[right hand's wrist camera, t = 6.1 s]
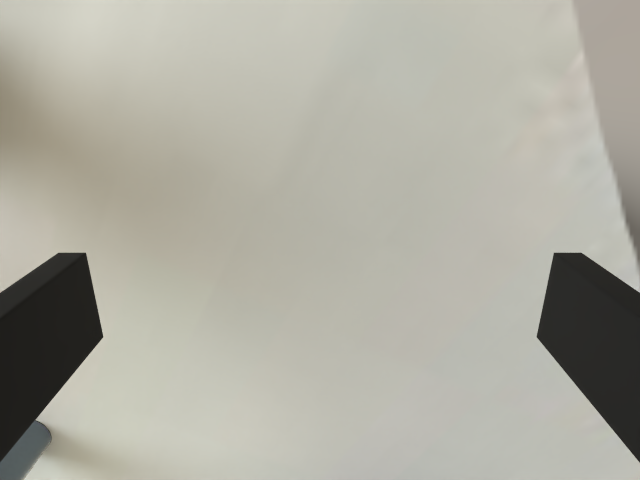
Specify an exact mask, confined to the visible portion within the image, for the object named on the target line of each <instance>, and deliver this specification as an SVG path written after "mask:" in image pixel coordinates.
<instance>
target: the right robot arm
mask: <svg viewBox="0 0 640 480" xmlns="http://www.w3.org/2000/svg"><path fill="white" fill-rule="evenodd" d="M102 338H103V333H102V328H101V324H100V319H99V314H98V309H97V304H96V299H95V294H94V290H93V285H92V280H91V275H90V270H89V265H88V260H87V256H86V253H58V254H56V255H55V256H53V257H52V258H50V259H49V260H47V261H46V262H45V263H43V264H42V265H40V266H39V267H37V268H36V269H34V270H33V271H31V272H30V273H29V274H27V275H26V276H24V277H23V278H21V279H20V280H18V281H17V282H15V283H14V284H13V285H11V286H10V287H8V288H7V289H5V290H4V291H2V292H1V293H0V462H1V461H2V460H3V458H4V457H5V456H6V455H7V454H8V452H9V451H10V450H11V449H12V447H13V446H14V445H15V444H16V443H17V441H18V440H19V439H20V438H21V437H22V435H23V434H24V433H25V432H26V430H27V429H28V428H29V427H30V426H31V424H32V423H33V422H34V421H35V419H36V418H37V417H38V416H39V415H40V413H41V412H42V411H43V410H44V409H45V407H46V406H47V405H48V404H49V402H50V401H51V400H52V399H53V398H54V396H55V395H56V394H57V393H58V391H59V390H60V389H61V388H62V387H63V385H64V384H65V383H66V382H67V381H68V379H69V378H70V377H71V376H72V374H73V373H74V372H75V371H76V370H77V368H78V367H79V366H80V365H81V363H82V362H83V361H84V360H85V359H86V357H87V356H88V355H89V354H90V353H91V351H92V350H93V349H94V348H95V346H96V345H97V344H98V343H99V342H100V340H101V339H102ZM537 338H538V339H539V340H540V342H541V343H542V344H543V345H544V346H545V348H546V349H547V350H548V351H549V353H550V354H551V355H552V356H553V357H554V359H555V360H556V361H557V362H558V363H559V365H560V366H561V367H562V368H563V370H564V371H565V372H566V373H567V374H568V376H569V377H570V378H571V379H572V381H573V382H574V383H575V384H576V385H577V387H578V388H579V389H580V390H581V391H582V393H583V394H584V395H585V396H586V398H587V399H588V400H589V401H590V402H591V404H592V405H593V406H594V407H595V409H596V410H597V411H598V412H599V413H600V415H601V416H602V417H603V418H604V419H605V421H606V422H607V423H608V424H609V426H610V427H611V428H612V429H613V430H614V432H615V433H616V434H617V435H618V437H619V438H620V439H621V440H622V441H623V443H624V444H625V445H626V446H627V447H628V449H629V450H630V451H631V452H632V454H633V455H634V456H635V457H636V458H637V460H638V461H639V462H640V293H639V292H638V291H636V290H635V289H633V288H632V287H630V286H629V285H627V284H626V283H625V282H623V281H622V280H620V279H619V278H617V277H616V276H614V275H613V274H611V273H610V272H609V271H607V270H606V269H604V268H603V267H601V266H600V265H598V264H597V263H595V262H594V261H593V260H591V259H590V258H588V257H587V256H585V255H584V254H582V253H554V256H553V260H552V265H551V270H550V275H549V280H548V285H547V290H546V294H545V299H544V304H543V309H542V314H541V319H540V324H539V328H538V333H537Z"/></svg>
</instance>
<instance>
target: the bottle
mask: <svg viewBox="0 0 640 480" xmlns="http://www.w3.org/2000/svg"><path fill="white" fill-rule="evenodd" d="M50 442H51V435H50V432H49V431H48V429H47V428H46V427H45V426H44V425H43V424H41V423H39V422H37V421H34V422H33V423H32V424H31V426H30V427H29V428H28V429H27V430H26V432H25V433H24V434H23V435H22V437H21V438H20V439H19V440H18V441H17V443H16V444H15V445H14V446H13V447H12V449H11V450H10V451H9V452H8V454H7V455H6V456H5V457H4V458H3V460H2V461H1V462H0V480H24V479H25V477H26V476H27V474H28V473H29V472H30V470H31V469H32V468H33V466H34V465H35V463H36V462H37V461H38V459H39V458H40V457H41V455H42V454H43V453H44V451H45V450H46V448H47V447H48V446H49V444H50Z"/></svg>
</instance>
